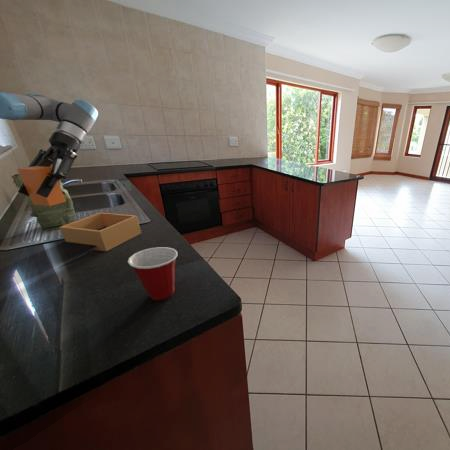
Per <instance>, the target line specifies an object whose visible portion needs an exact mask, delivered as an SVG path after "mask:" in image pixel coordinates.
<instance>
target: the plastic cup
mask: <svg viewBox="0 0 450 450" xmlns="http://www.w3.org/2000/svg"><path fill="white" fill-rule="evenodd" d="M178 254H179V253H178V250H176V249H175V248H173V247H169V246H165V247H164V246H158V247H150V248H146V249H142V250H140V251H137V252H135V253H133V254H132V255H131V256H130V257H128V260H127V263H128V265H129V266H130V267H131V268H132V270H133V271H134V273H135V274H136V276H137V278H138V279H139V281H140V283H141V285H142V286H143V288H144V290H145V291H146V293H147V294H148V296H149V297H150V298H151V300H153V301H163V300H166V299H168V298H170V297H172V296H173V295H174V293H175V290H176V287H175V282H176V274H175V273H176V270H175V269H176V260H177V257H178V256H179V255H178Z"/></svg>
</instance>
